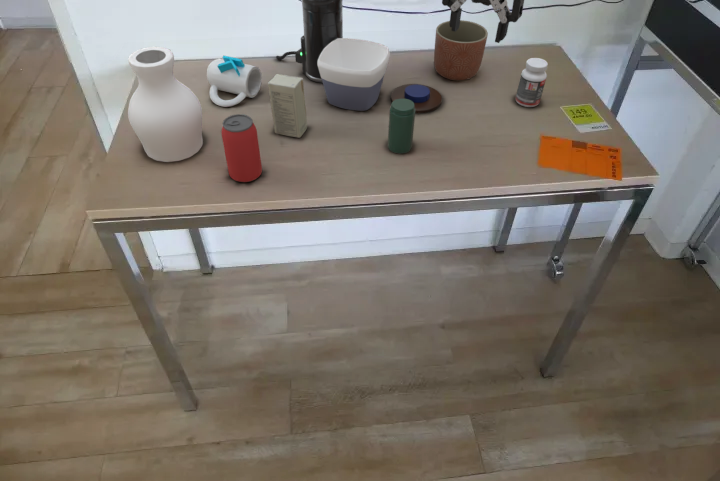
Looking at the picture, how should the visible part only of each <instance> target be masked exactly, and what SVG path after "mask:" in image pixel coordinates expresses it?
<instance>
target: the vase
mask: <svg viewBox="0 0 720 481" xmlns="http://www.w3.org/2000/svg"><path fill="white" fill-rule="evenodd" d="M127 61H128V64H129V67H130V69H131V70H132V72H134V74H135V76H136V78H137V80H138V85H137V87H136V89H135V91H134V92H133V94H132V96H131V97H130V99H129V102H128V109H127V117H128V122H129V124H130V126H131V128H132V130H133V132H134V133H135V135H136V137H137V138H138V139H139V141H140V143H141V145H142V147H143V149H144V152H145V153H146V155H147V157H149V158H151V159H152V160H154V161H157V162H162V163H163V162H164V163H172V162H180V161H183V160H186V159H189V158H191V157H192V156H194V155H195V154H197V153H198V152H199V151H200V150H201V149H202V147H203V144H204V142H203V141H204V140H203V139H204V138H203V134H202V133H203V109H202V104H201V102H200V99H199V98H198V96H197V95H196V94H195V93H194V92H193V90H192V89H191V88H190V87H189V86H187V85H185V84H184V83H183V82H181V81H180V80H178V79H177V78H176V75H175V74H174V66H175V55H174V53H173V51H172V50H171V49H169V48H167V47H164V46H163V47H162V46H147V47H143V48H140V49H138V50H135V51H133V52H132V53H131V54H130V55H129V56H128V60H127Z"/></svg>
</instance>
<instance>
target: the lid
mask: <svg viewBox="0 0 720 481" xmlns="http://www.w3.org/2000/svg"><path fill="white" fill-rule="evenodd" d="M414 84H415V85H410V86H408V87H406V88H405V93H404V94H405V98H406V99H409V100H411V101H412V102H414V103H422V102H425V101H427V100H428V99H429V97H430V90H429V89H428V88H427V87H426V86H427V85H426V86H423V85H424V84H421V85H417V84H418V83H414Z"/></svg>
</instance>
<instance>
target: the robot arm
mask: <svg viewBox="0 0 720 481" xmlns="http://www.w3.org/2000/svg"><path fill="white" fill-rule="evenodd" d="M467 1H468V0H441V4H442V6H445V7H448V8H449V9H450V16H449V21H450V23H449V25H450V27H452V29H451V30H452V31H454V32H456V31H457V30H458V28H459V25H460V20H461V19H462V18H461V17H462V12H463V9H462V6H463V5H464V4H465V3H466V2H467ZM471 3H474V4H482V5H483V6H486V7H489V6H491V7H492V9H493V11H494V13H496V15H497V17H498V19H499V22H497V28H496V33H495V39H494V42H495V43H498V44H500V42H502V41H503V40H505V38H506V37H507V35H508V29H509V25H510V23H517V22H518V20H519V19H521V17H522V15H523V9H524V5H525V0H513V1H512V7H511V10H510V8H509V6H508V1H507V0H471ZM301 4H302V5H301V8H302V23H303V24H302V25H303V35H302V36H301V37H300V48H299V49H298V50H294V51H293V50H292V51H291V50H290V51H287V52H285V53H283V54H282V55H276V56H275V58H276V60H280V61H282V60H284V59H285V58H286V57H288V56H293V55H294V57H295V62H296V63H298V64H301V69H302V75H304V76H305V77H306V78H307V79H309V80H310V81H312V82H315V83H319V84H320V83H322V84H323V82H322V78H321V76H320V72H319V69H318V65H317V61H318V58H319V56H320V54H321V52H322V51H323V49H324V48H325V47H326V46H327V45H328V44H329V43H331V42H332V41H334V40H336V39H338V38H344V36H343V32H344V31H343V28H344V27H343V26H344V25H343V21H344V20H343V0H301Z"/></svg>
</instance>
